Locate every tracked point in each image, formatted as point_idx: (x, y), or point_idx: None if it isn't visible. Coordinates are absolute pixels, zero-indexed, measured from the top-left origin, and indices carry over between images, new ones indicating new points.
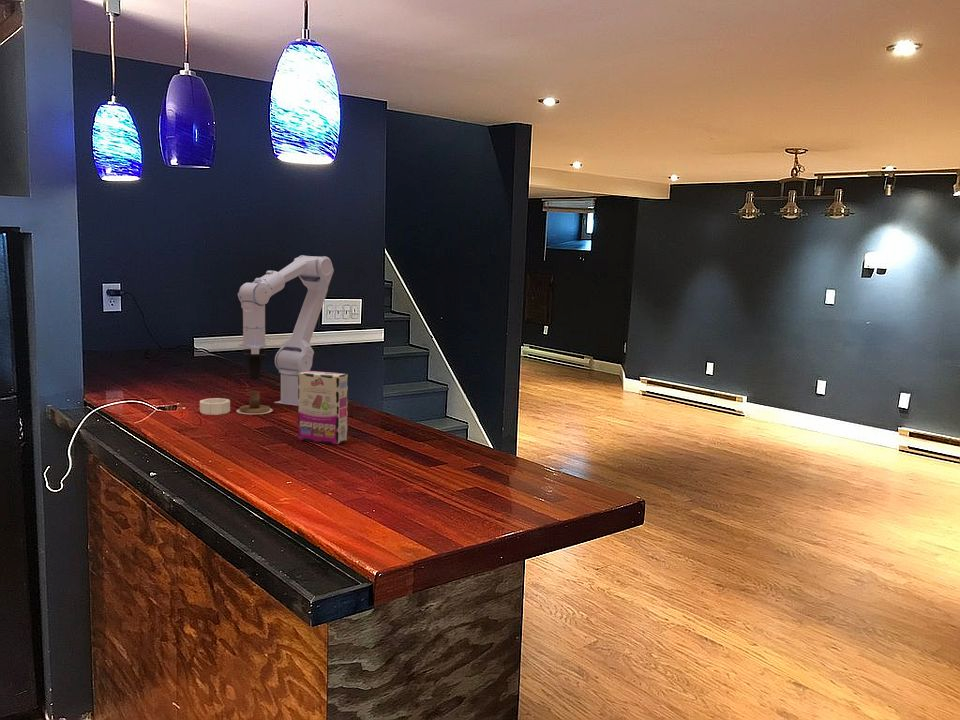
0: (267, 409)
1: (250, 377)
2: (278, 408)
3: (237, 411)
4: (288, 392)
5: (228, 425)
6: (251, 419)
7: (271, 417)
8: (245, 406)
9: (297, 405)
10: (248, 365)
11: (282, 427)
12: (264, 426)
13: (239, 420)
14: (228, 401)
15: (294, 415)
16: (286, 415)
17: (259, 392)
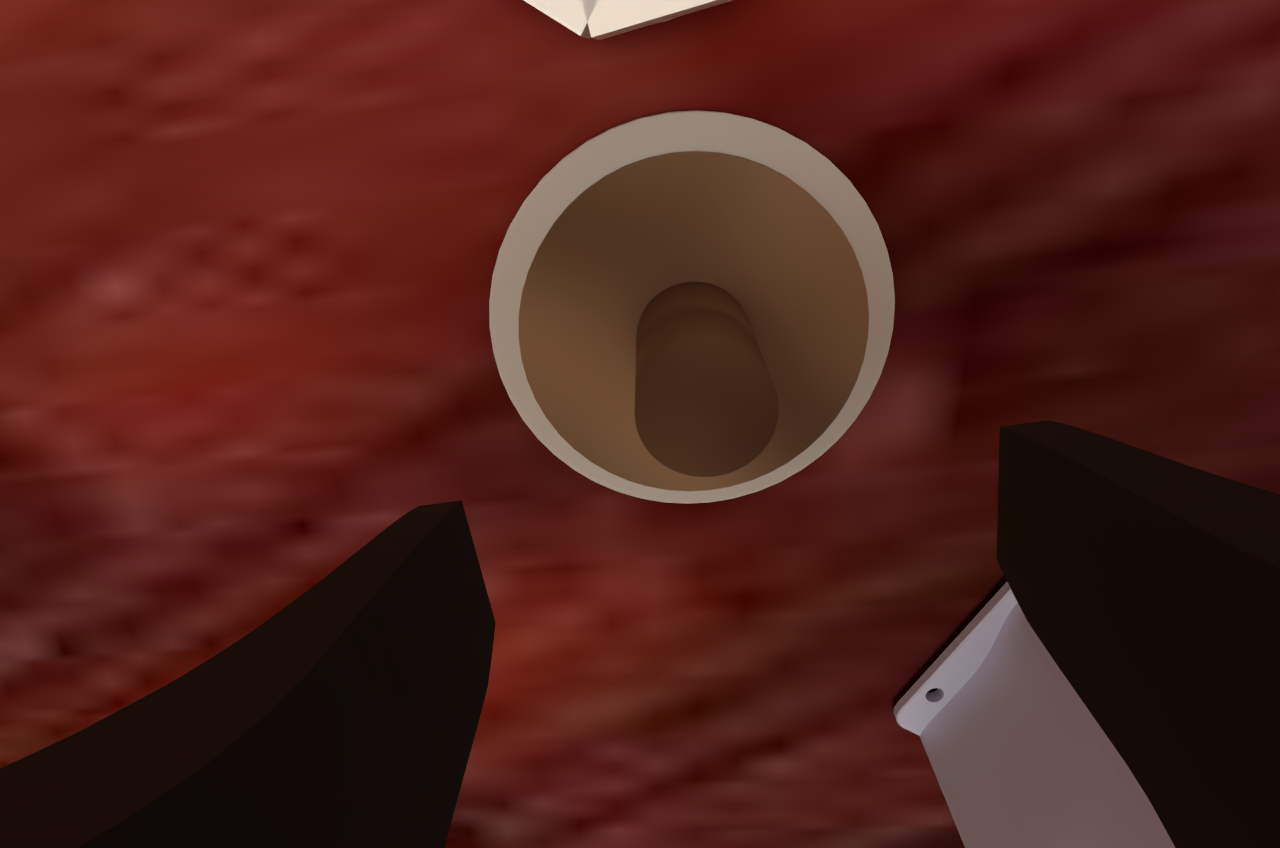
0: (617, 473)
1: (400, 520)
2: (889, 525)
3: (628, 133)
4: (1063, 699)
5: (17, 116)
6: (353, 325)
7: (468, 499)
8: (758, 221)
9: (919, 688)
10: (177, 683)
11: (85, 615)
12: (79, 475)
13: (285, 205)
14: (589, 11)
15: (568, 671)
16: (565, 612)
17: (703, 472)
